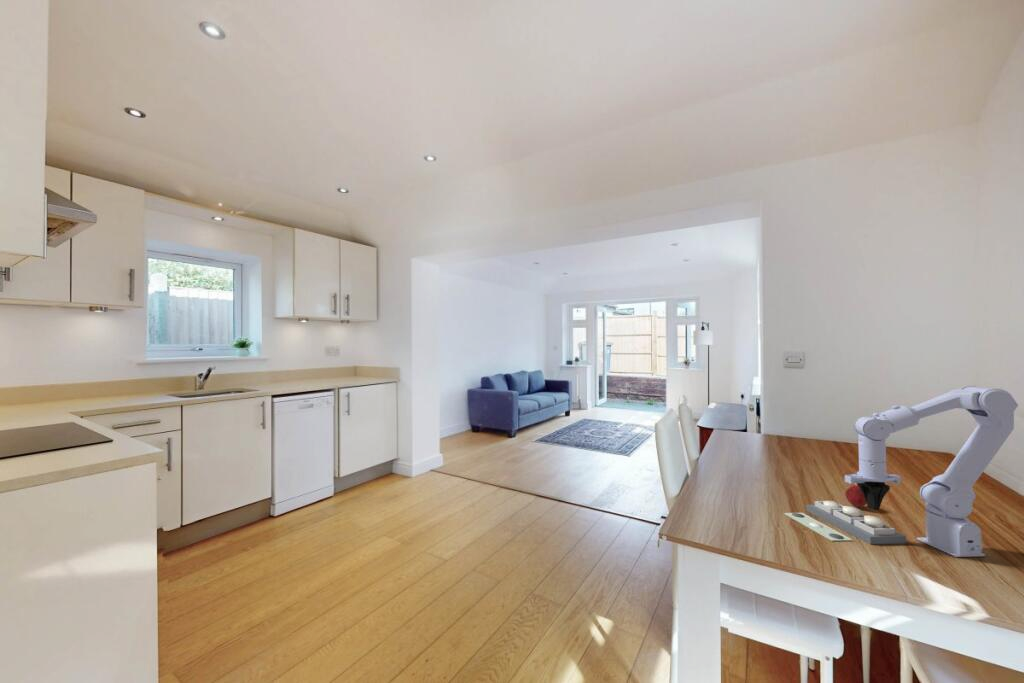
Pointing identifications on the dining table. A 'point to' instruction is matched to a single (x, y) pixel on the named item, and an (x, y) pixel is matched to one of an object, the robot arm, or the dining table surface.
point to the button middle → (851, 511)
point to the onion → (855, 496)
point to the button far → (831, 504)
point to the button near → (873, 521)
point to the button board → (856, 525)
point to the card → (818, 527)
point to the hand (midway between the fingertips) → (873, 508)
